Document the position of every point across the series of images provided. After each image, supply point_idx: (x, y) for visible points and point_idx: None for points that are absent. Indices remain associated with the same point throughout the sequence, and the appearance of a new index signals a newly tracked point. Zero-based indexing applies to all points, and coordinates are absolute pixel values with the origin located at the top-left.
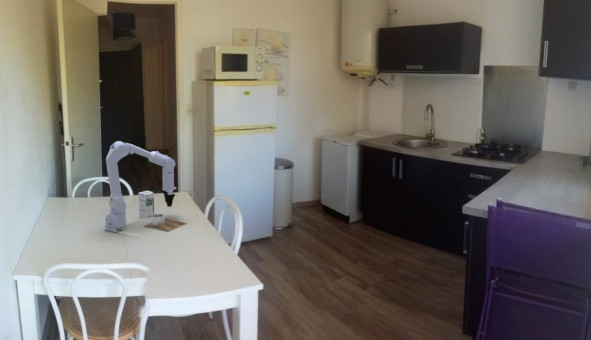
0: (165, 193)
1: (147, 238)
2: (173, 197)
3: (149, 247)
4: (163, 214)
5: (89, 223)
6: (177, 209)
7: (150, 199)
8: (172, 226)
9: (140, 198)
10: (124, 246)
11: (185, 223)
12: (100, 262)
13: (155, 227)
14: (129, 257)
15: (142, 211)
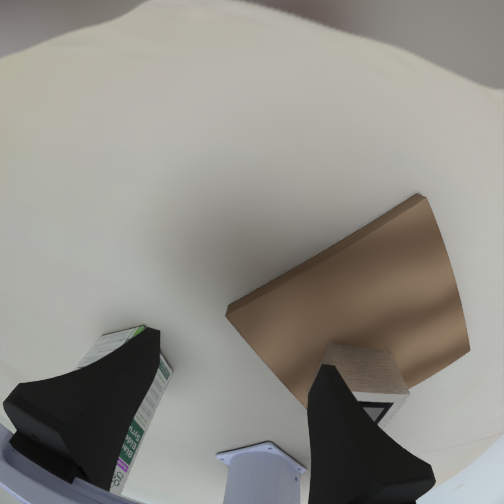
0: (112, 450)
1: (434, 409)
2: (403, 452)
3: (493, 402)
4: (357, 392)
5: (168, 477)
6: (27, 143)
7: None
8: (423, 312)
9: None
10: (434, 451)
11: (422, 214)
12: (464, 467)
13: None
14: (493, 434)
15: None
